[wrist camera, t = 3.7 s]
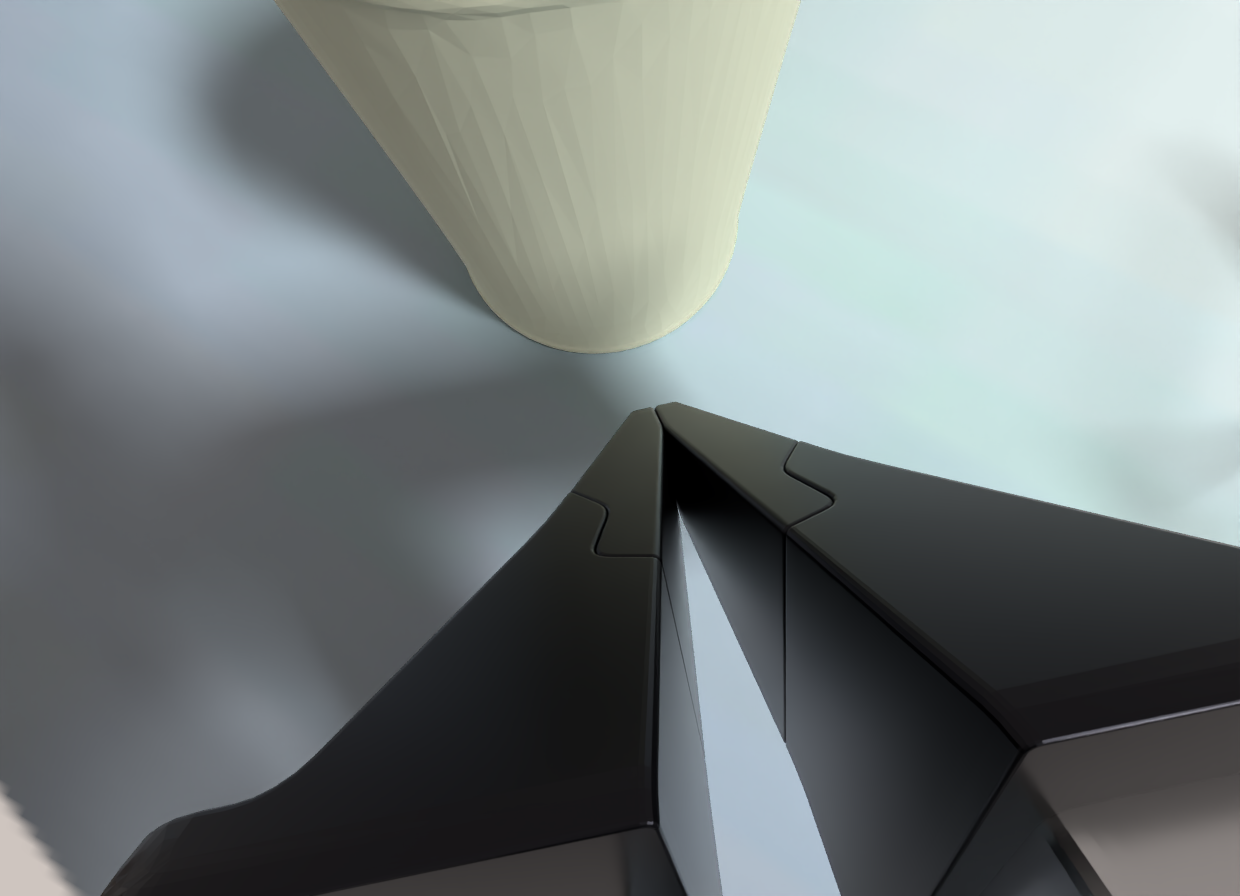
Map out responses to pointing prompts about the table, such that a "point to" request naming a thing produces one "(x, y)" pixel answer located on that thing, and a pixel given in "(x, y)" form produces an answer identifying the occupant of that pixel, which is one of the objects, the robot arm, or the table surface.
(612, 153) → the can
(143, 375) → the table surface
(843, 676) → the robot arm
